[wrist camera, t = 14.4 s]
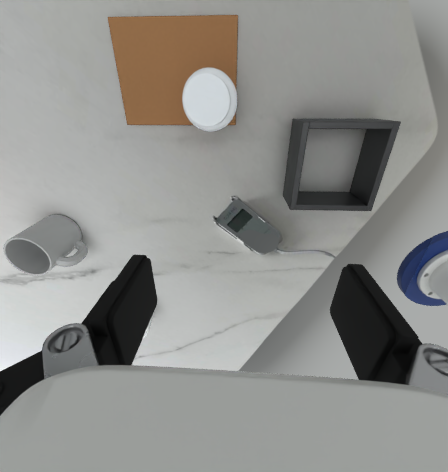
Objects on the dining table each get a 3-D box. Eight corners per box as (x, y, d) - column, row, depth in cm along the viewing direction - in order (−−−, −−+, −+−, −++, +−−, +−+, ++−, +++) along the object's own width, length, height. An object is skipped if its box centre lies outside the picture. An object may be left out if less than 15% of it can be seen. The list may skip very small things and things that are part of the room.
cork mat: (237, 16, 29) (237, 14, 28) (235, 124, 34) (235, 124, 34) (108, 18, 29) (107, 16, 29) (128, 124, 35) (127, 124, 35)
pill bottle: (195, 70, 31) (177, 56, 22) (241, 79, 31) (243, 68, 22) (191, 122, 34) (174, 129, 25) (233, 129, 34) (231, 139, 25)
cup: (46, 206, 42) (4, 229, 35) (101, 230, 44) (72, 257, 37) (42, 237, 46) (2, 264, 38) (93, 257, 48) (65, 288, 40)
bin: (375, 118, 33) (401, 121, 28) (353, 196, 39) (371, 211, 34) (292, 118, 34) (303, 121, 29) (282, 195, 39) (290, 209, 34)
